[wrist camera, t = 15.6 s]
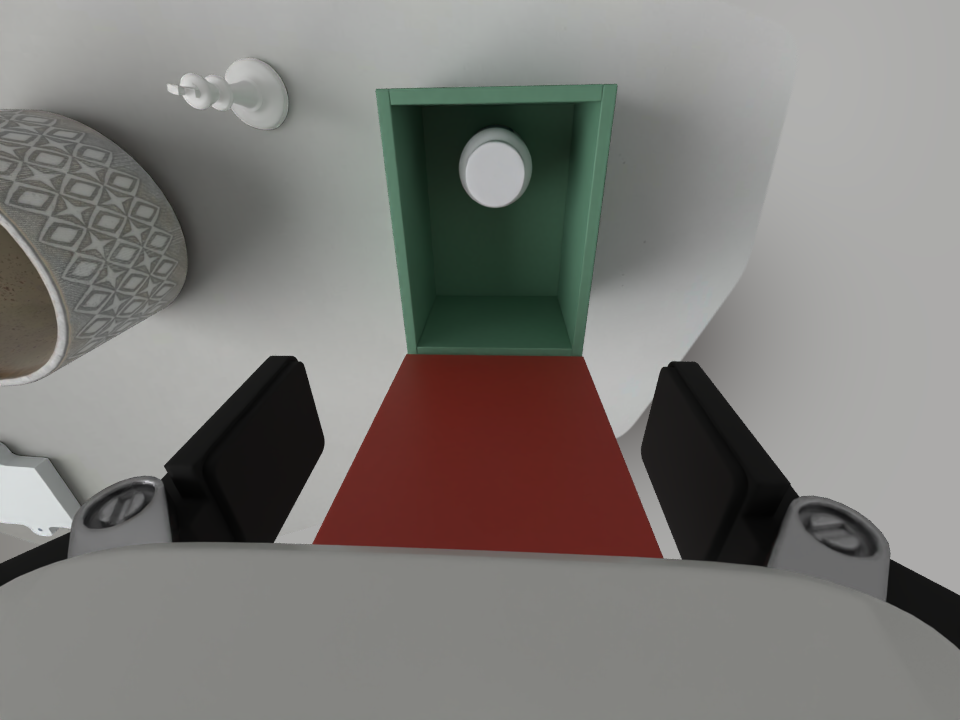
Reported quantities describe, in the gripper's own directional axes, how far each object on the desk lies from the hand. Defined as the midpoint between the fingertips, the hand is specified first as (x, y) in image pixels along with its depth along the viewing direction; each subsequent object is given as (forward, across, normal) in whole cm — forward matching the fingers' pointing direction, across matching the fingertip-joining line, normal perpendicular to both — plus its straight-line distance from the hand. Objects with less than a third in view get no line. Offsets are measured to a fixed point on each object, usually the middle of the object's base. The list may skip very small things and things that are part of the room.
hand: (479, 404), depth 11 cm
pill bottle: (+30, 0, -3) cm, 30 cm away
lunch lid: (+9, 0, +8) cm, 13 cm away
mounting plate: (+31, +70, +40) cm, 86 cm away
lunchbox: (+30, 0, +1) cm, 30 cm away
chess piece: (+30, +20, -8) cm, 37 cm away
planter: (+30, +38, +2) cm, 49 cm away
